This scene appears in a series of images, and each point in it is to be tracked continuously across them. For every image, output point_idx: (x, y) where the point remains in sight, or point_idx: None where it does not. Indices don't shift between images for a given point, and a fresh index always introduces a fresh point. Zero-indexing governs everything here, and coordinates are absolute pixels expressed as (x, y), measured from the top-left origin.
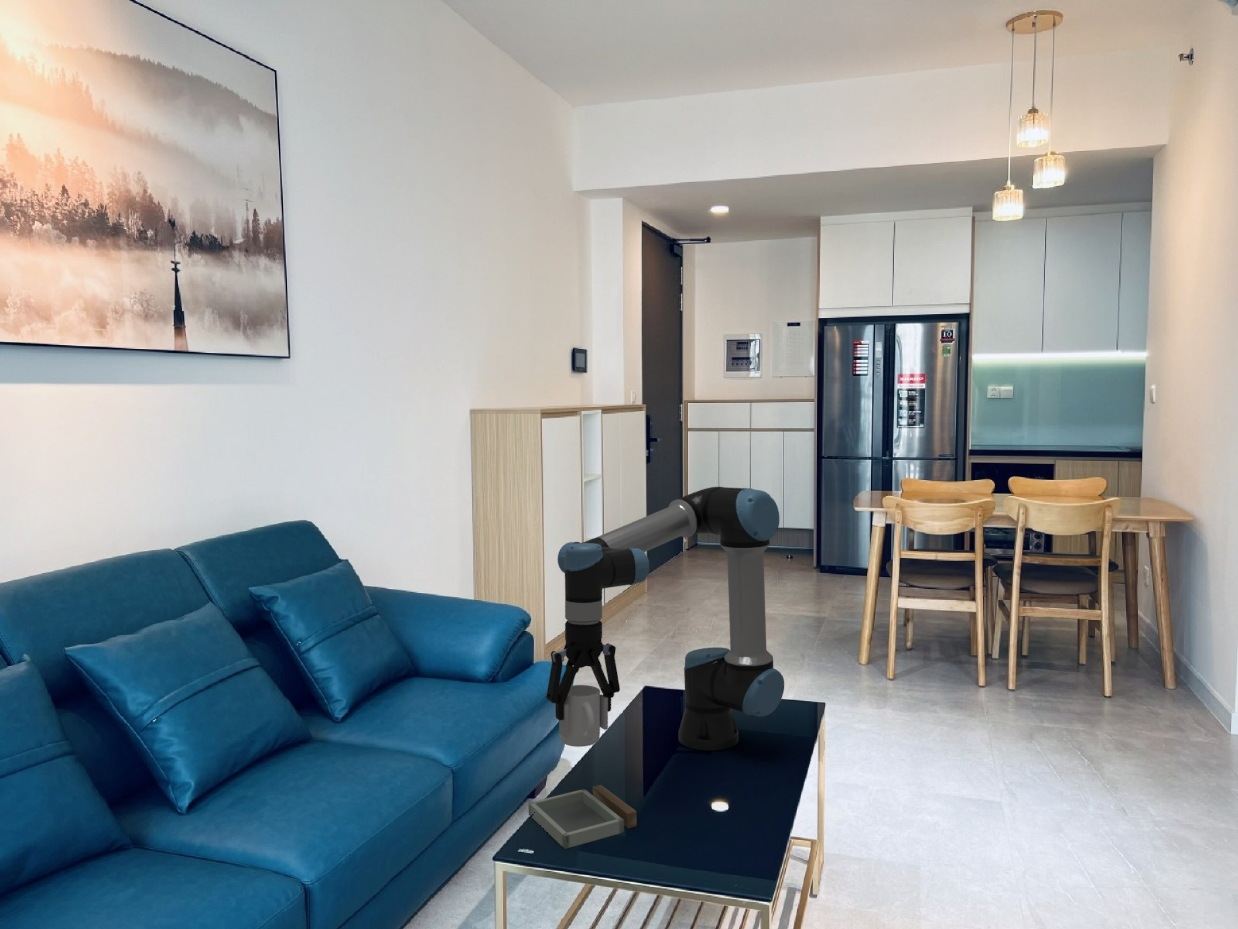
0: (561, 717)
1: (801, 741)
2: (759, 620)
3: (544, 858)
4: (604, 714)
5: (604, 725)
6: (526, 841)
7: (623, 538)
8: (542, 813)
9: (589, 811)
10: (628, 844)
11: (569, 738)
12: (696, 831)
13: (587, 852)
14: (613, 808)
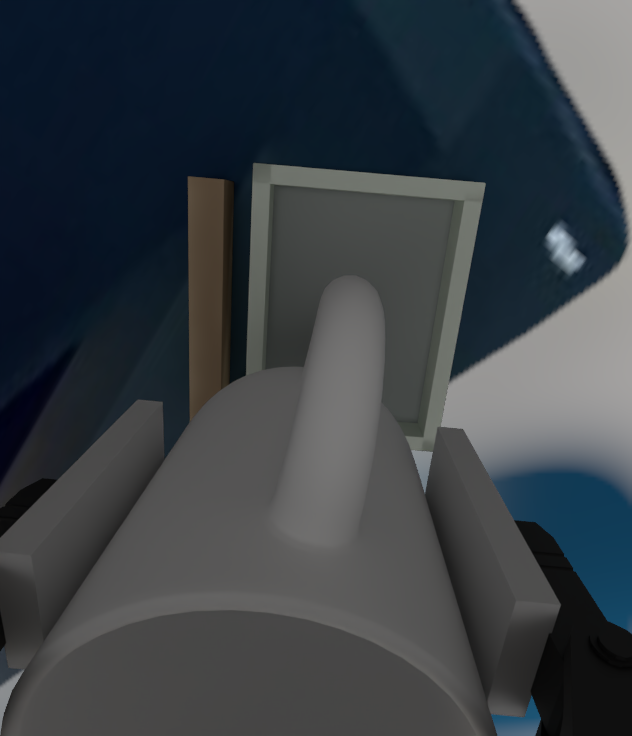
0: (524, 536)
1: None
2: None
3: (554, 171)
4: (115, 458)
5: (151, 417)
6: (528, 299)
7: None
8: (445, 367)
9: (279, 346)
10: (290, 82)
11: (406, 441)
12: (39, 12)
13: (428, 120)
14: (226, 283)
